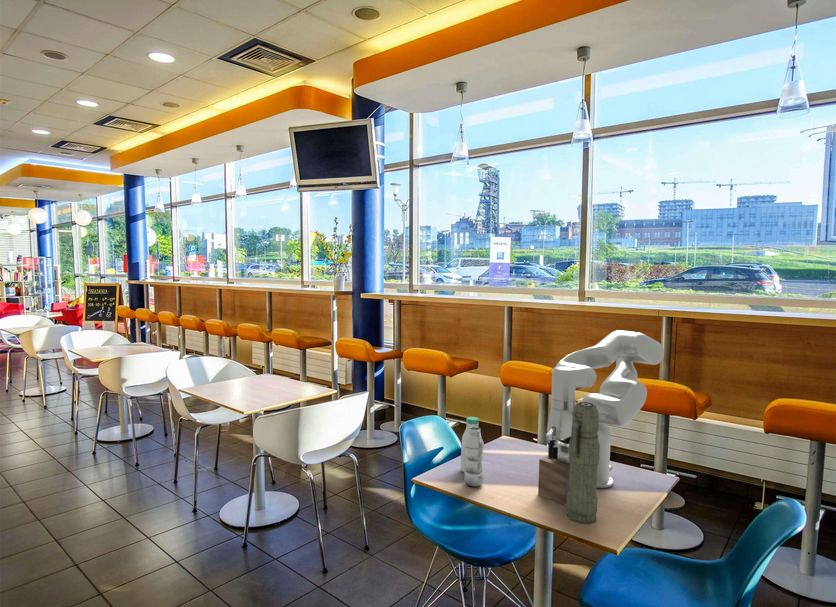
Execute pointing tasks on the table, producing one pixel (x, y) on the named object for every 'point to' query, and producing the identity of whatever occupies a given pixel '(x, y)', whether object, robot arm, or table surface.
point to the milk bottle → (470, 423)
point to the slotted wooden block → (553, 479)
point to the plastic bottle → (474, 458)
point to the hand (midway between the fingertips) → (560, 454)
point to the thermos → (583, 464)
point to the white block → (563, 453)
